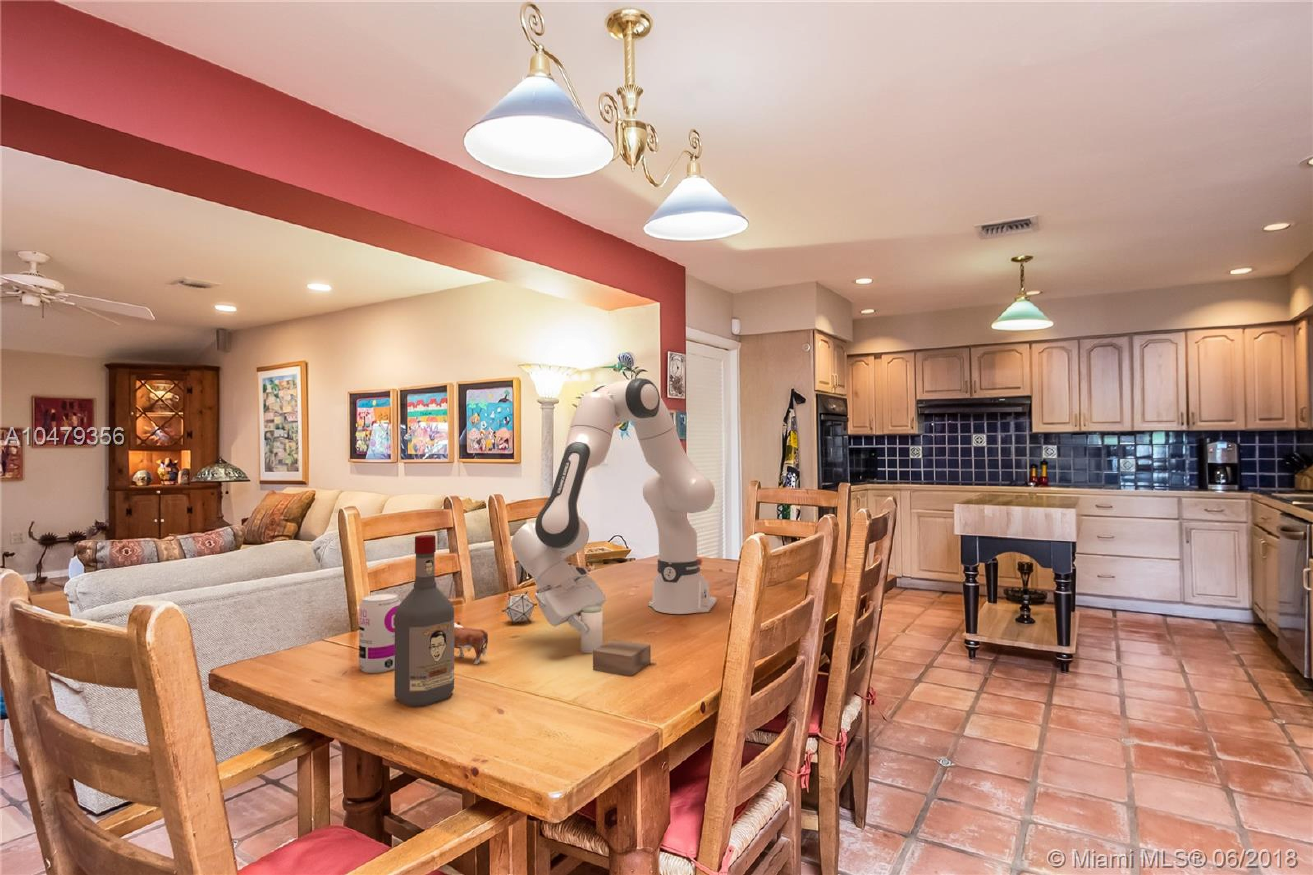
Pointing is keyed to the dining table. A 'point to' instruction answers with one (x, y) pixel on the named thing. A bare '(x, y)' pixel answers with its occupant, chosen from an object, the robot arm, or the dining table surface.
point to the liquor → (424, 635)
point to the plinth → (622, 657)
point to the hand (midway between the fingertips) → (593, 628)
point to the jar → (591, 628)
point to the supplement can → (377, 632)
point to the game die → (519, 607)
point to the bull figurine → (470, 640)
